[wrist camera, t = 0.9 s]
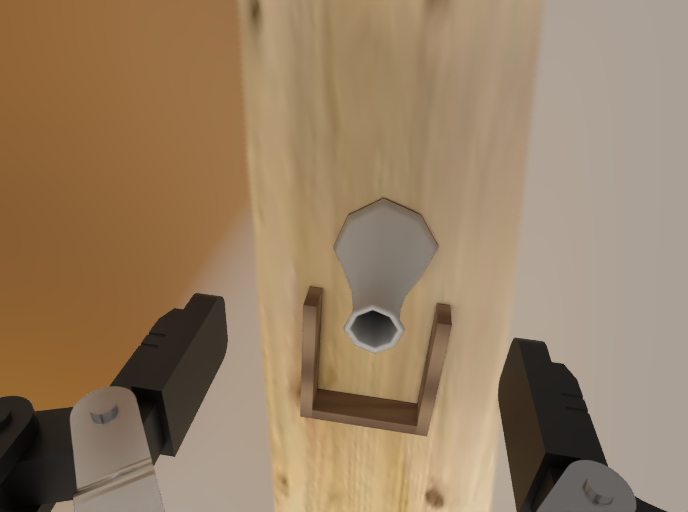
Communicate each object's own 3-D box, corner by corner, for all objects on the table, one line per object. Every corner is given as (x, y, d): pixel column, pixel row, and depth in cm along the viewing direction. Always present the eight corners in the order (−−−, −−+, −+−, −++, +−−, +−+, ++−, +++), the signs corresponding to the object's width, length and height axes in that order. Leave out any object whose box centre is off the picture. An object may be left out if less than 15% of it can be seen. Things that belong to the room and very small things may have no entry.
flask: (383, 179, 33) (369, 250, 25) (456, 245, 35) (467, 333, 26) (317, 245, 37) (284, 327, 28) (387, 302, 38) (377, 397, 30)
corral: (309, 286, 38) (303, 305, 36) (450, 305, 38) (451, 325, 35) (306, 395, 45) (300, 416, 42) (426, 413, 44) (426, 436, 41)
